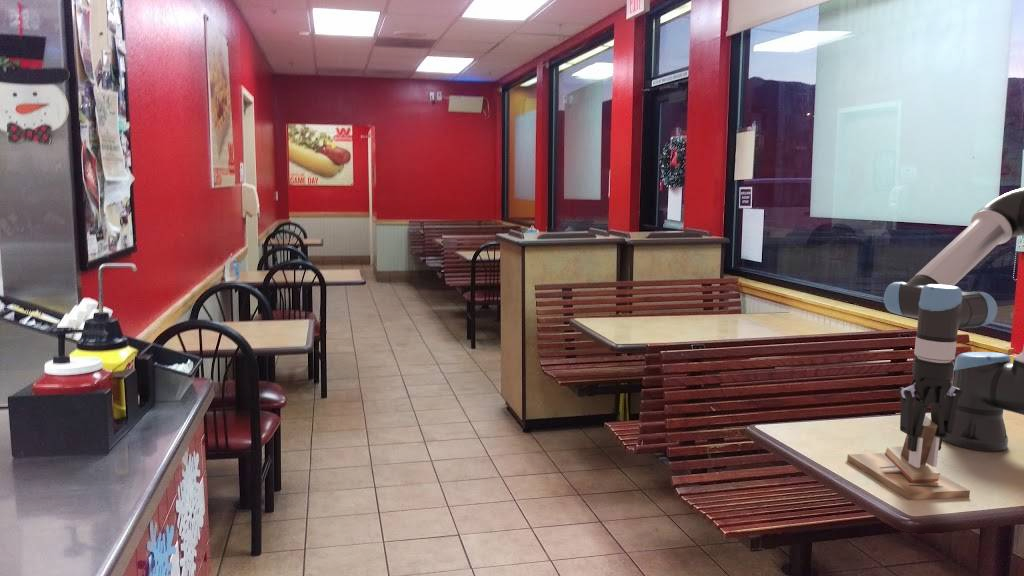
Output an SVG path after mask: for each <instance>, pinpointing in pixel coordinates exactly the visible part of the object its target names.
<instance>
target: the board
mask: <svg viewBox="0 0 1024 576" xmlns="http://www.w3.org/2000/svg"><path fill="white" fill-rule="evenodd" d="M846 459H847V460H846V461H847V462H849V463H851V464H852V465H853V466H855V467H857V468H858V469H860V470H861V471H863V472H864V473H866V474H868V475H869V476H871V477H872V478H873V479H875V480H876V481H878V482H880V483H881V484H883V485H884V486H885V487H888V488H889V489H891V490H892V491H894V493H897V494H899V495H900V496H902V497H903V498H905V499H906V500H908V501H916V500H937V499H938V500H939V499H958V498H959V499H961V498H970V496H971V495H970V493H971V490H970V489H968V488H966V487H965V486H963V485H961V484H959V483H957V482H955V481H954V480H952V479H951V478H950V477H949V478H948V477H947V476H945V475H943V474H941V473H940V475H939V478H938V479H939V480H938V481H931V482H911V481H910V480H909V479H908V478H907V477H906V476H905V475H904V474H903V473H902V472H901V471H900V470H899V469H898V468H897V467H896V466H895V465H894V464H893V463H892V462H891V461H890V460H889V459H888V458H887V457H886V456H885V452H883V453H882V452H880V453H879V452H878V453H851V454H850V453H849V454H848V453H847V457H846Z"/></svg>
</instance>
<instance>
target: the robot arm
mask: <svg viewBox="0 0 1024 576" xmlns="http://www.w3.org/2000/svg"><path fill="white" fill-rule="evenodd" d="M1020 236H1021V237H1023V236H1024V187H1023V188H1022V187H1020V188H1017V189H1014V190H1010V191H1009V192H1005V193H1004V194H1002V195H1000V196H998V197H996V198H995V199H993V200H991V201H989V202H987V203H986V204H985V205H984V206H982V207H981V208H980V209H978V211H977V212H975V213H974V214H973V215H972V217H971V220H970V224H969V225H968V226H967V227H966V228H965V229H964V230H962V231H961V232H960V233H959V234H958V235H956V237H955V238H954V239H953V240H952V241H951V242H950V243H949V244H947V245H946V246H945V247H944V248H943V249H942V250H941V251H940V252H939V253H938V254H937V255H936V256H935V257H933V258H932V259H931V260H930V261H929V262H928V263H927V264H925V265H924V267H922V269H920V270H919V271H918V272H917V273H916V274H915V275H914V276H913V277H912V278H911V279H909V280H908V281H907V282H905V281H894V282H892V283H890V284H889V285H888V286H887V287H886V289H885V291H884V295H883V302H884V307H885V308H886V310H887V311H888V312H890V313H892V314H896V315H899V316H903V317H909V318H914V319H917V328H916V333H915V342H914V343H915V344H914V352H913V353H914V355H915V357H914V358H913V359H912V360H913V361H912V362H913V363H912V370H911V371H912V375H913V378H912V381H911V382H910V385H908V386H907V387H899V389H898V394H899V396H900V417H899V421H900V422H899V423H900V424H899V430H900V432H902V433H904V434H906V435H907V434H908V445H907V448H908V450H910V452H909V461H908V463H909V464H911V465H913V466H915V467H916V468H920V461H921V452H922V443H923V438H922V437H920V433H921V429H922V425H923V421H924V418H925V416H926V413H927V410H928V408H929V407H930V420H932V421H933V422H934V423H935V424H936V425H938V426H937V430H936V433H935V436H934V439H933V442H932V445H931V449H930V452H929V455H928V458H927V461H926V463H927V464H929V465H931V466H932V467H934V468H937V465H938V457H939V451H941V449H942V444H943V441H944V442H945V443H947V444H950V445H953V446H956V447H959V448H964V449H968V450H973V451H979V452H980V451H981V452H1001V451H1005V450H1007V448H1008V444H1009V438H1008V435H1007V431H1006V426H1005V421H1004V411H1008V412H1012V413H1015V414H1019V415H1022V416H1024V345H1023V348H1022V351H1021V352H1020V353H1019V354H1017V355H1016V356H1014V357H1013V362H1011V361H1012V360H1011V357H1010V355H1009V354H1007V353H1003V352H993V351H992V352H990V351H972V352H971V351H968V352H963V353H960V354H958V355H957V356H956V351H957V342H958V341H957V339H958V332H959V329H970V328H974V329H975V328H980V327H983V326H986V325H989V324H990V323H992V322H993V321H994V320H995V319H996V316H997V314H998V305H997V302H996V300H995V299H994V297H993V296H992V295H991V294H990V293H987V292H984V291H975V290H973V291H962V290H963V289H961V288H960V287H959V286H957V285H956V284H957V283H959V282H960V281H961V280H962V279H963V278H964V277H966V275H967V274H968V273H969V272H970V271H971V270H972V269H973V268H975V267H976V266H977V264H979V263H980V262H981V261H982V260H983V259H984V258H985V257H986V256H987V255H988V254H990V252H992V251H993V249H995V247H997V246H998V245H1002V244H1005V243H1007V242H1008V241H1010V239H1011V238H1015V237H1020ZM955 285H956V286H955ZM954 359H955V360H954ZM953 360H954V361H953ZM951 380H952V382H951Z"/></svg>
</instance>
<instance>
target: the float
mask: <svg viewBox="0 0 1024 576" xmlns="http://www.w3.org/2000/svg"><path fill="white" fill-rule="evenodd" d="M937 426H938V425H936V424H935V423H934V422H933V421H932V420H931V418H929V417H928V416H927V415H925V418H924V421H923V425H922V429H921V433H920V437H922V438H923V443H922V452H921V461H920V468H916V467H915V466H913V465H911V464H909V463H908V461H909V452H910V450H908V448H907V445H908V434H906V436H905V440H904V443H903V446H902V445H901V446H887V447H886V449H885V452H884V453H885V456H886V457H887V458H888V459H889V460H890V461H891V462H892V463H893V464H894V465H895V466H896V467H897V468H898V469H899V470H900V471H901V472H902V473H903V474H904V475H905V476H906V477H907V478H908V479H909V480H910V481H911V482H931V481H938V480H939V479H938V478H939V475H940V474H941V472H940V471H939V470H938V469H937V467H932V466H931V465H929V464H927V463H926V461H927V458H928V455H929V452H930V449H931V445H932V442H933V439H934V436H935V433H936V430H937Z"/></svg>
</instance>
